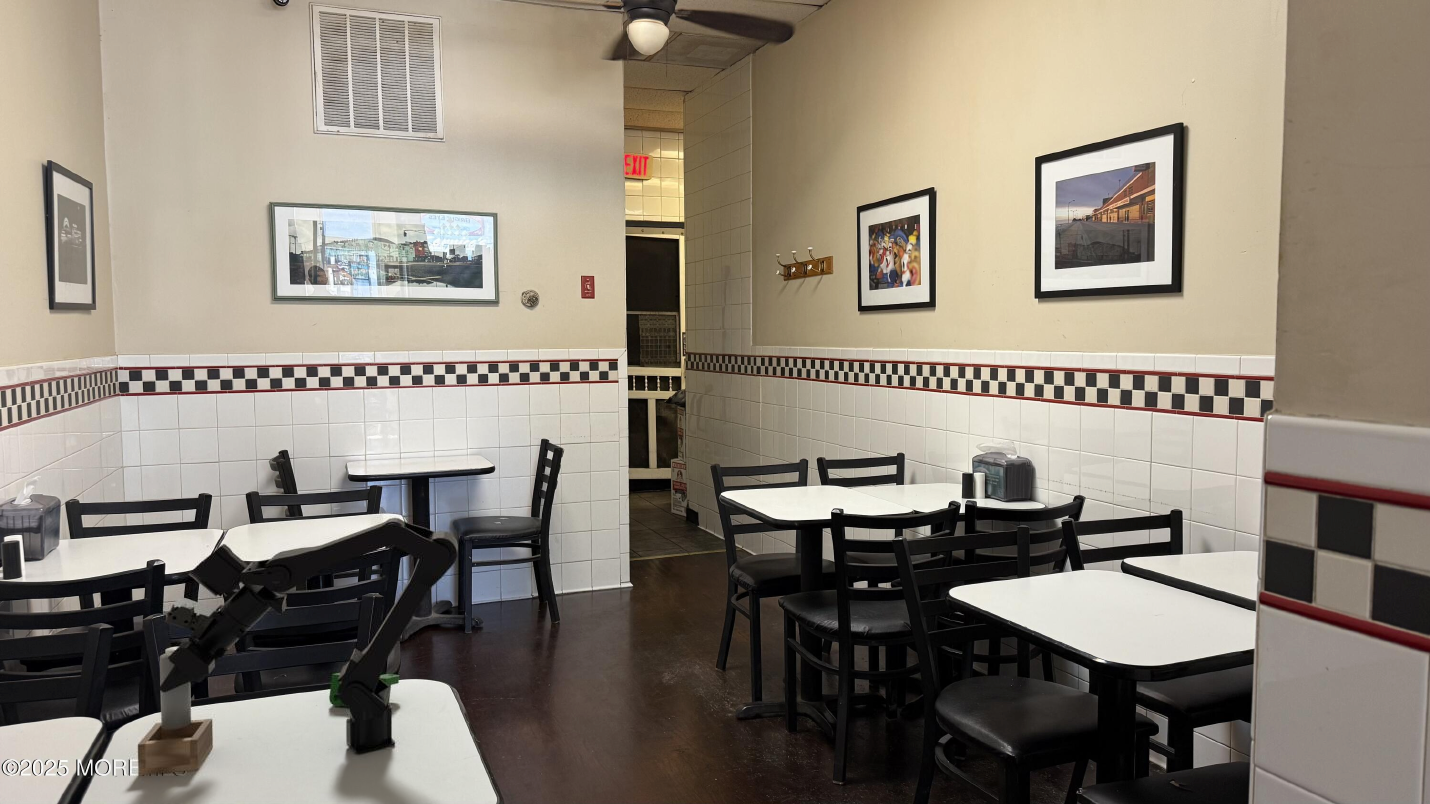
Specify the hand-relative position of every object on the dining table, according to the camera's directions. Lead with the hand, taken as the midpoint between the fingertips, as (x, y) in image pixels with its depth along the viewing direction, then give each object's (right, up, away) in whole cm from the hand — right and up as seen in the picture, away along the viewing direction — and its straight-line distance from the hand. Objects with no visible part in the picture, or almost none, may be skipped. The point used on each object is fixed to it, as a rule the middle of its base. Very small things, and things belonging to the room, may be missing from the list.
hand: (166, 685), depth 150 cm
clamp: (+22, -12, +27) cm, 37 cm away
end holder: (+1, -13, +1) cm, 13 cm away
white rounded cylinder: (+1, -7, +1) cm, 7 cm away
